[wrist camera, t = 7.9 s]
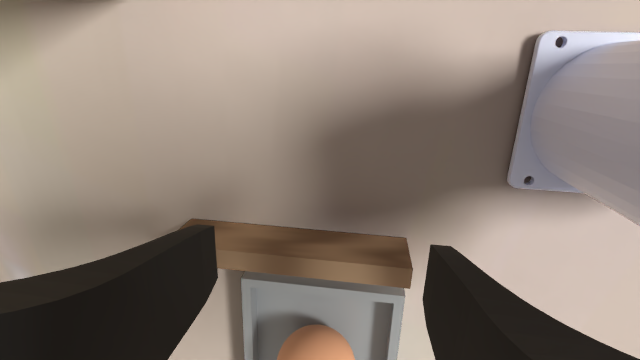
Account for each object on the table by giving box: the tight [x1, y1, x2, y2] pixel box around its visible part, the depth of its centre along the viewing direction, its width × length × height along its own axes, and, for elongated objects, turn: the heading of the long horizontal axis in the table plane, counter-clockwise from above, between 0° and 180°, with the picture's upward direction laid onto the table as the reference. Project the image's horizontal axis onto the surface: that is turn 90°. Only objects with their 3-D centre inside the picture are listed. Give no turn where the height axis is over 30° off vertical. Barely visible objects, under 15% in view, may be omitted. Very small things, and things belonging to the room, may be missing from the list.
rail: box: [179, 219, 413, 289], centre depth 21 cm, size 14×1×4 cm, turn 88°
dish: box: [241, 271, 405, 360], centre depth 24 cm, size 10×10×2 cm
